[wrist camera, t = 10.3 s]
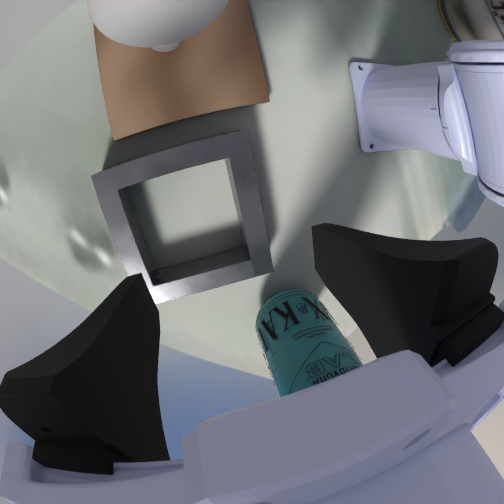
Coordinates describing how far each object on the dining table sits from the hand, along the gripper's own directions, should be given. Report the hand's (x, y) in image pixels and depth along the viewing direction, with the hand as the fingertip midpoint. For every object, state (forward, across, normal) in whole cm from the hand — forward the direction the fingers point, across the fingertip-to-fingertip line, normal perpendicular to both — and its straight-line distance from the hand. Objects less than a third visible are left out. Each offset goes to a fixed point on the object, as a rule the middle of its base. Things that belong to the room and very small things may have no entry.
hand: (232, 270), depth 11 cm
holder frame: (+10, +2, 0) cm, 11 cm away
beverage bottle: (+11, -4, +11) cm, 16 cm away
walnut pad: (+10, 0, -12) cm, 16 cm away
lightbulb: (+10, 0, -13) cm, 16 cm away
